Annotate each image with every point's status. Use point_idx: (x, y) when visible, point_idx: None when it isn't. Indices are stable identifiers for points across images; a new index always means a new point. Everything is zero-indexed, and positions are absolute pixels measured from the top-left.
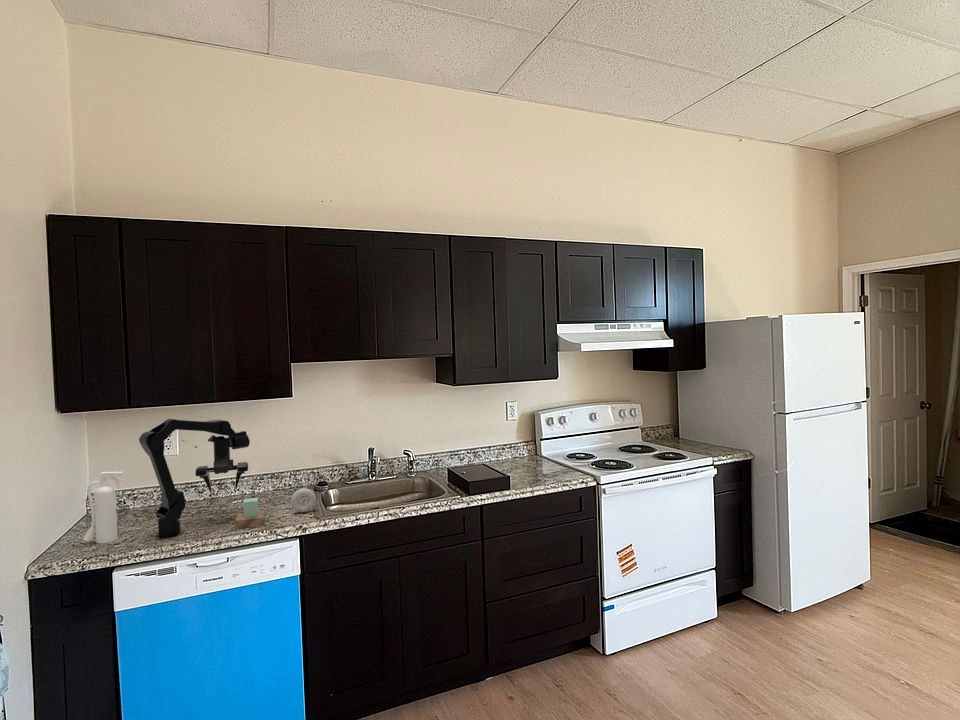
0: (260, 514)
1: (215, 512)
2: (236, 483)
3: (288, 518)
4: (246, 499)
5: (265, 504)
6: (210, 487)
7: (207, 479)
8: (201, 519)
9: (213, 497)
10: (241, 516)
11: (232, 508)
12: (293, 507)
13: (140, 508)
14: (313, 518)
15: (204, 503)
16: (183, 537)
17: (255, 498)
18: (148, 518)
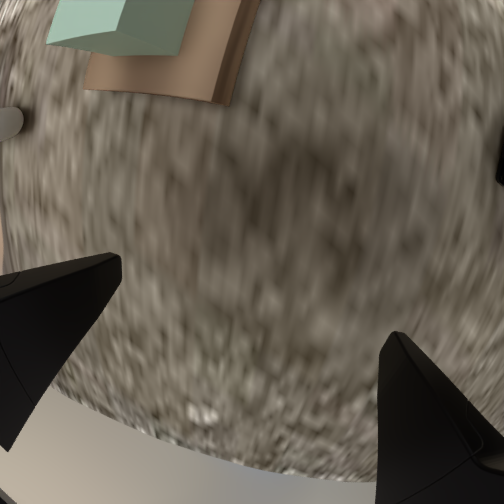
0: None
1: (294, 361)
2: (62, 271)
3: (55, 63)
4: (106, 14)
5: (109, 319)
6: (415, 363)
7: (493, 462)
8: (376, 303)
9: (260, 467)
10: (203, 21)
11: (223, 364)
12: (15, 112)
13: None
14: (20, 39)
15: (295, 450)
16: (491, 66)
17: (60, 25)
18: None
